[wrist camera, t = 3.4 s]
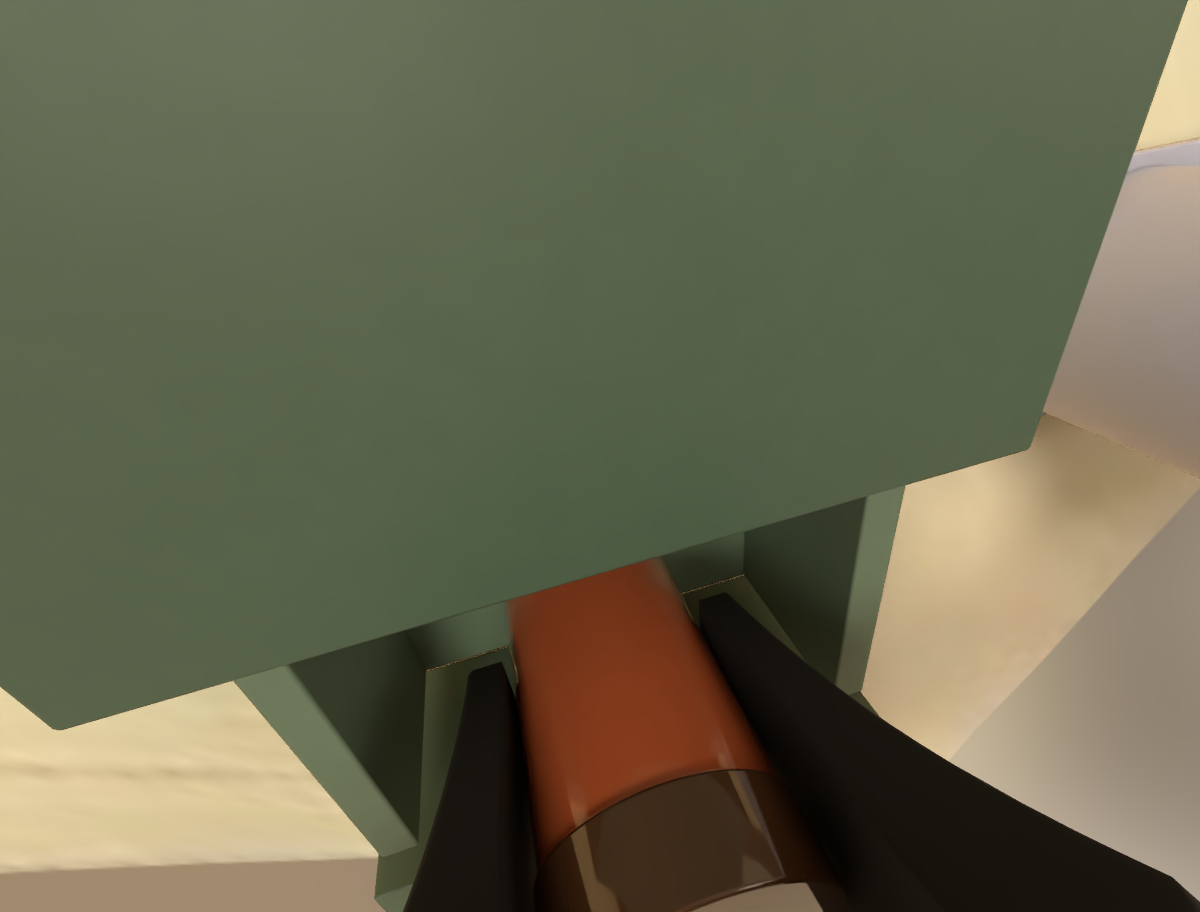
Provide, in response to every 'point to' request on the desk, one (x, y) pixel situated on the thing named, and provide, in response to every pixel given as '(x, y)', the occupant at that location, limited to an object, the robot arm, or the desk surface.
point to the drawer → (435, 698)
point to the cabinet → (506, 295)
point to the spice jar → (649, 762)
